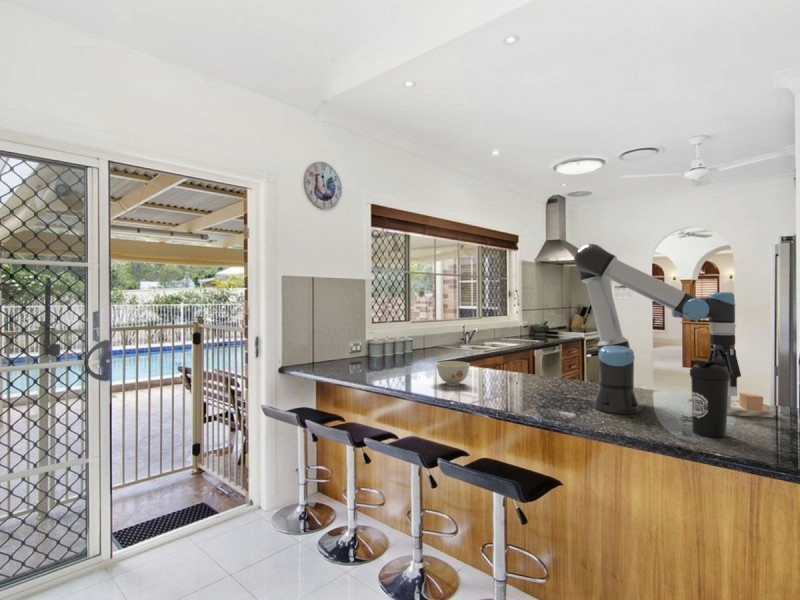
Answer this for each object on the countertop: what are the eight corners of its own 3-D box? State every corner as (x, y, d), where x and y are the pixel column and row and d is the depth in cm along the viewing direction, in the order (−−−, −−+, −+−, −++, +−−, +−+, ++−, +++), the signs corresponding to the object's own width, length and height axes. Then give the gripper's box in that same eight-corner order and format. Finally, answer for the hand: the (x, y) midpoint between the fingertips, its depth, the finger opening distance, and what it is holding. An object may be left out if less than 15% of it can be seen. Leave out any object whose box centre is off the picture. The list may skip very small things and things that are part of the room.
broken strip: (709, 406, 162) (709, 403, 162) (702, 402, 168) (702, 399, 168) (759, 409, 159) (759, 406, 158) (750, 404, 164) (750, 402, 164)
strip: (719, 411, 155) (720, 384, 155) (712, 407, 161) (712, 380, 160) (772, 414, 151) (772, 386, 151) (762, 409, 157) (762, 382, 156)
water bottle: (681, 429, 138) (682, 358, 137) (711, 428, 139) (711, 357, 138) (706, 439, 128) (707, 363, 127) (738, 438, 128) (739, 363, 128)
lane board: (705, 413, 155) (705, 408, 155) (687, 402, 171) (687, 398, 170) (773, 417, 150) (773, 412, 150) (748, 405, 165) (748, 401, 165)
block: (746, 409, 153) (746, 395, 153) (739, 406, 158) (739, 392, 158) (762, 410, 152) (763, 396, 152) (755, 407, 157) (755, 393, 157)
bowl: (435, 387, 200) (435, 366, 199) (437, 380, 215) (437, 360, 215) (469, 388, 197) (469, 367, 197) (469, 381, 213) (469, 361, 212)
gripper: (753, 337, 144) (753, 400, 144) (717, 331, 168) (718, 384, 168) (727, 337, 146) (727, 399, 146) (696, 330, 170) (696, 383, 170)
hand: (722, 391), depth 157 cm, fingers open, 13 cm apart
